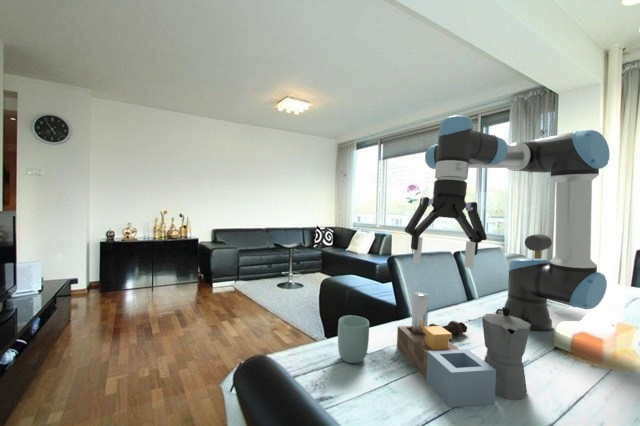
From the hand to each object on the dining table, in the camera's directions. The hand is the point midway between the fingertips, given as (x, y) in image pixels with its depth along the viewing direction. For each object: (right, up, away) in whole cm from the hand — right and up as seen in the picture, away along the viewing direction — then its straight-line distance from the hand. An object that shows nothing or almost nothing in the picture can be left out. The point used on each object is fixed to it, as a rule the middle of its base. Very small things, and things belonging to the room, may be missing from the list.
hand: (442, 265), depth 77 cm
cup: (-22, -25, +2) cm, 33 cm away
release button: (-2, -22, -1) cm, 22 cm away
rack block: (-1, -25, -10) cm, 27 cm away
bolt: (+9, -26, +18) cm, 33 cm away
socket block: (-3, -25, +3) cm, 25 cm away
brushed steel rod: (-4, -25, +7) cm, 26 cm away
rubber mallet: (+68, -27, +65) cm, 98 cm away
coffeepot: (+11, -26, -7) cm, 29 cm away
